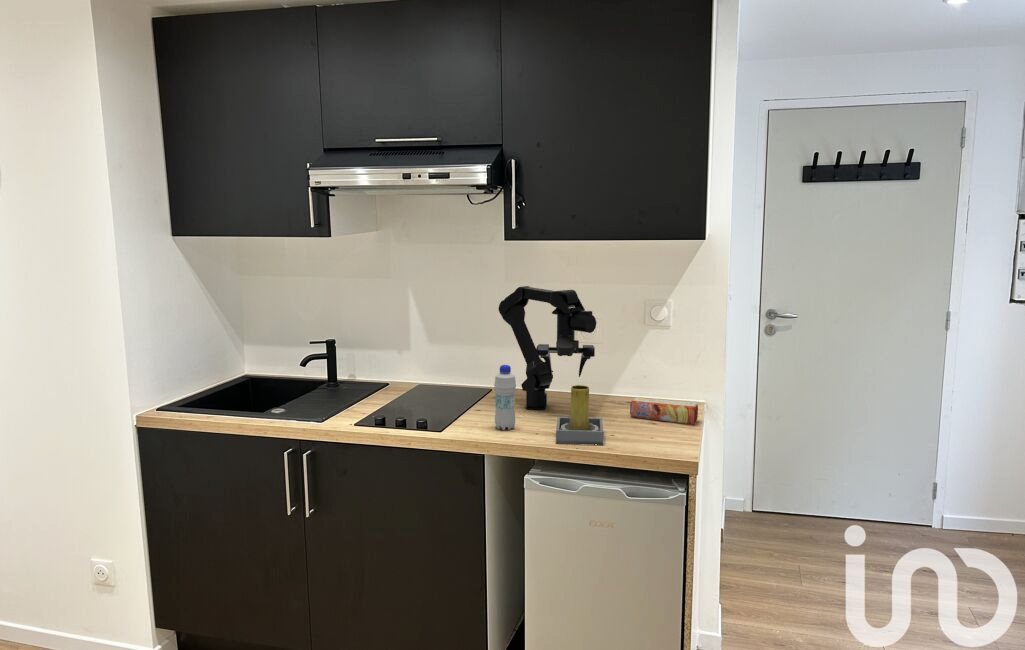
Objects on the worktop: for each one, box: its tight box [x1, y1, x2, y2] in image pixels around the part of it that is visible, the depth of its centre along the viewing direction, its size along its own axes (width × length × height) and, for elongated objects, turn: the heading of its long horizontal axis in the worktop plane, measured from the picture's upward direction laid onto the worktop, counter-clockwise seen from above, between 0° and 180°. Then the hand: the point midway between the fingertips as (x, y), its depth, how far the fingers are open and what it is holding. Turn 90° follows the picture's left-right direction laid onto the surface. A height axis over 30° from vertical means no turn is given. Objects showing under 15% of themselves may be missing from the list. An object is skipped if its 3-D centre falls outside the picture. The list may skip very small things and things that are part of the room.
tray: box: [555, 416, 604, 446], centre depth 224 cm, size 14×14×4 cm
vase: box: [569, 384, 590, 431], centre depth 223 cm, size 6×6×14 cm
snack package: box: [629, 397, 699, 426], centre depth 242 cm, size 21×7×7 cm, turn 65°
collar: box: [561, 423, 598, 431], centre depth 224 cm, size 11×11×2 cm
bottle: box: [494, 364, 517, 431], centre depth 231 cm, size 7×7×20 cm
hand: (565, 376), depth 245 cm, fingers open, 9 cm apart
